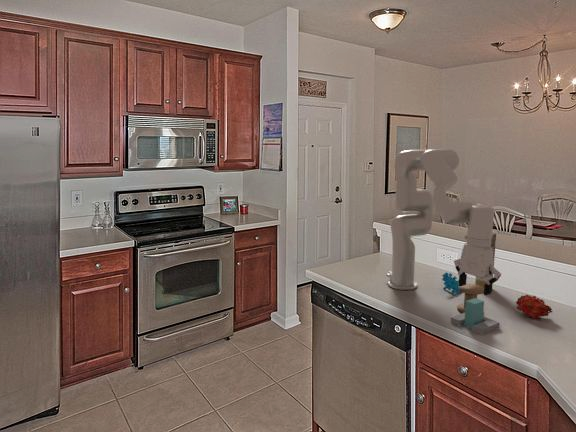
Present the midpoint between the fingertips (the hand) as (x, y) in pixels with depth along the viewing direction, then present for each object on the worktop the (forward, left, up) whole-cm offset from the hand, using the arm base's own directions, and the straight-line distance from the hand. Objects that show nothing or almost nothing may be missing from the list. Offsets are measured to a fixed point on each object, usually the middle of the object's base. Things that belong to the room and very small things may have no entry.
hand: (474, 289), depth 151 cm
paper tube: (-20, +36, -13) cm, 44 cm away
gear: (-26, +22, -13) cm, 36 cm away
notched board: (+1, 0, -13) cm, 13 cm away
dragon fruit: (+8, +24, -13) cm, 29 cm away
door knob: (-8, +10, -13) cm, 18 cm away
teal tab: (+1, 0, -13) cm, 13 cm away
